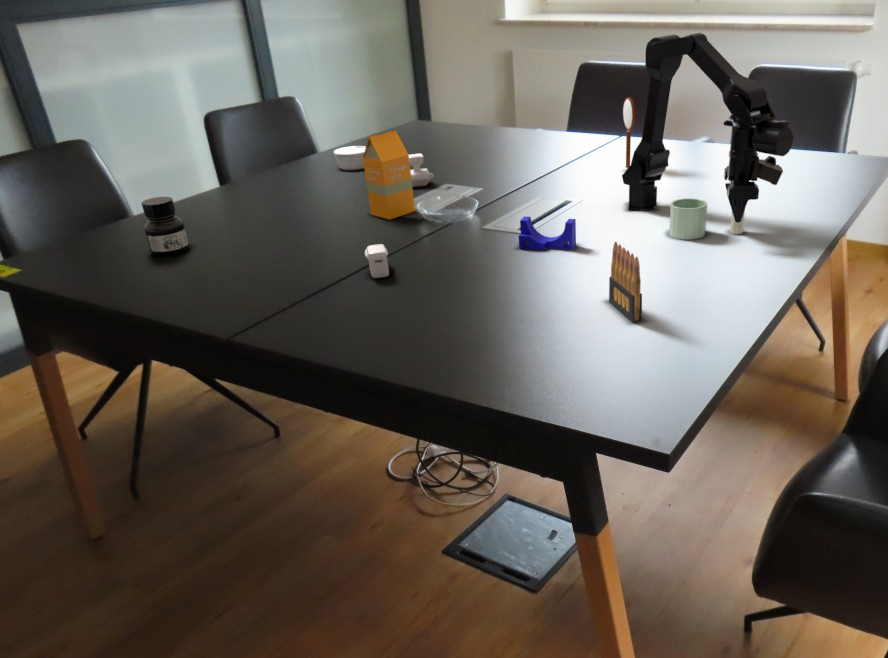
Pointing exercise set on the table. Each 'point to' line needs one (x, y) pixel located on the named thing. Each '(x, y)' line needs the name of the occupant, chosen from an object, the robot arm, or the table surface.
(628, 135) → the magnifying glass
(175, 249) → the ink bottle
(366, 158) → the orange juice
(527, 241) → the blue mounting bracket
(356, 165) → the ramekin
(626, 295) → the ammunition clip
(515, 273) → the table surface
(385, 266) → the power adapter
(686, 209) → the pen holder
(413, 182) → the stamp
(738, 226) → the glue stick
